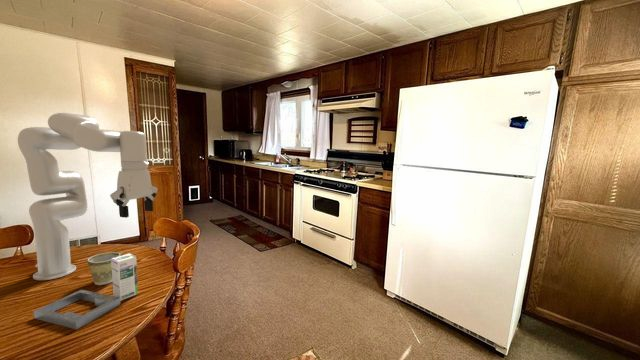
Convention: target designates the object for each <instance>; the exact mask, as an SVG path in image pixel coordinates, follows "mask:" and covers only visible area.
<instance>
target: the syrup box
mask: <svg viewBox="0 0 640 360" xmlns="http://www.w3.org/2000/svg"><path fill="white" fill-rule="evenodd" d="M137 264H138V263H137V256H135V255H134V254H132V253H130V252H129V253H127V254H124V255H122V254H121V255H120V256H119V257H115V258H112V259H111V266H112V279H113V282H112V289H113V290H112V291H113V296H114V297H119V298H120V302H122V301H123V300H125V299H128V298H131V297H134V296H136V295H139V286H138V285H139V283H138V281H139V280H138V265H137Z"/></svg>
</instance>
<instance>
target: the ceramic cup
mask: <svg viewBox="0 0 640 360" xmlns="http://www.w3.org/2000/svg"><path fill="white" fill-rule="evenodd" d="M122 255H125V253H124V252H123V251H119V252H115V251H113V252H112V251H111V252H110V251H108V252H102V253H98V254H95V255H93V256H90V257H88V258H87V265H88V267H89V271H90V273H91V276H92V277H91V278H92V279H93V283H94V285H97V286H102V285H108V284H111V283H113V279H112V266H111V259H112V258H115V257H119V256H122Z"/></svg>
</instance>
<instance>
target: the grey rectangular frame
mask: <svg viewBox="0 0 640 360" xmlns="http://www.w3.org/2000/svg"><path fill="white" fill-rule="evenodd" d="M79 300H83V301H87V302H91V303H94V306H95V307H96V308H93V309H91V310H90V311H87V312H86V313H84V314H80V313H76V312H71V311H67V312H65V313H60V312H57V311H58V310H61V309H63V308H65V307H67V306H69V305H71V304H73V303H75V302H77V301H79ZM119 306H121V301H120V298H119V297H114V295H109V294H105V293H100V292H96V291H91V290H85V289H79V290H78V291H75V292H73V293H71V294H69V295H66V296H64V297H62V298H60V299H57V300H55V301H53V302H51V303H48V304H46V305H43V306H42V307H40V308H38V309H35V310H33V316H34V319H36V320H39V321H42V322H46V323H48V324H49V323H50V324H54V325H58V326H62V327H64V328H69V329H71V330H72V329H73V330H79V329H80V328H82V327H84V326H85V325H88V324H90V323H91V322H93V321H94V320H96V319H98V318H100V317H101V316H103V315H105V314H107V313H108V312H110V311H112V310H114V309H115V308H117V307H119Z"/></svg>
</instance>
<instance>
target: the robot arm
mask: <svg viewBox="0 0 640 360" xmlns="http://www.w3.org/2000/svg"><path fill="white" fill-rule="evenodd" d="M47 125H48V127H44V126H33V127H32V126H30V127H26V128H23V129H22V130H20V131H19V133H18V135H17V144H18V145H17V146H18V148H19V150H20V152H21V154H22V155H23V156H22V157H24V159H25V163H26V167H27V175H28V178H29V184H30V189H31V191H32V193H33V194H34V195H36V196H45V197H46V196H51V195H52V196H54V195H63V194H65V195H66V196H61V197H60V196H57V197H51V198H50V197H49V198H44V199H40V200H37V201H35V202H33V203H32V204H31V205H30V206H29V207H28V213H29V217H30V219H31V222H32V225H33V230H34V238H35V239H34V240H35V249H36V260H37V263H36V264H35V268H37V272H35V273H34V274H33V275H32V279H33V280H36V281H49V280H54V279H55V280H56V279H58V278H62V277H66V276H68V275H70V274H72V273H74V272H75V271H76V270H77V266H76V265H75V264H72V262H71V261H72V260H71V259H72V258H71V247H70V236H69V235H70V233H69V229H68V228H67V226H66V225H65V224H63V223H62V222H61V221H64V220H68V219H69V220H70V219H73V218H74V219H75V218H78V217H81V216H84V215H85V214H86V213H87V211H88V199H87V194H86V192H87V191H86V188H85V187H86V186H85V181H84V178H83V177H82V174H80V173H78V171H74V170H62V171H61V170H60V168H59V163H58V160H57V158H56V157H55V156H54V155H53V154H52V153H51V152H50V151H48V150H55V151H57V150H58V151H59V150H60V151H61V150H63V151H64V150H66V151H67V150H68V151H71V150H77V149H80V148H83V149H85V150H89V151H92V152H98V153H103V152H104V153H105V152H106V153H107V152H109V153H119V154H120V167H121V170H118V175H117V181H116V182H117V183H116V190H115V191H114V192H112V193H110V195H109V196H110V198H111V200H112V202H113V203H114V204H115V205H116V206H117V207H118V211H119V212H118V213H119V217H120V218H125V219H126V218H129V216H130V215H129V214H130V213H129V205H128V203H129V202H130V200H131V201H132V200H137V199H141V198H144V211H146V212H153V211H154V207H153V206H154V204H153V203H154V202H153V201H155V198H156V196H157V193H158V190H159V189H158V187H156V186H154V185H152V180H151V173H150V170H149V169H148V167H149V162H148V159H147V158H148V155H147V138H146V137H147V136H146V134H145V133H144V132H141V131H134V130H111V129H101V128H100V125H99V123H98V121H97V120H96V119H95V118H94V117H92V116H89V115H84V114H77V113H69V112H57V113H53V114H52V115H50V116H49V117H48V120H47Z"/></svg>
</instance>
